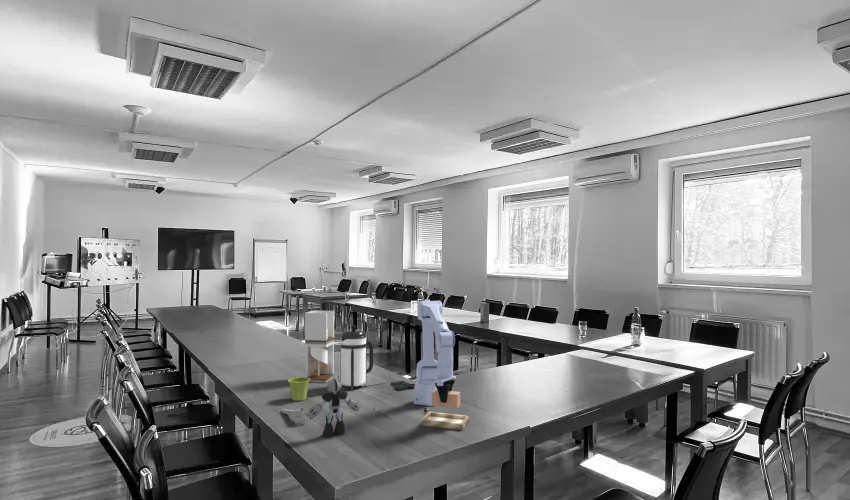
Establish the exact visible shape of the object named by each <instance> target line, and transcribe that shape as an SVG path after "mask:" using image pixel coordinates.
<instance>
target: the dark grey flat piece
mask: <svg viewBox="0 0 850 500" xmlns="http://www.w3.org/2000/svg"><path fill="white" fill-rule="evenodd" d="M390 386H392V387H394V390H396V391H399V392H401V391H402V392H403V391H407V390H408V391H409V389H414V386H415V383H410V382H406V381H405V380H397V381H391V382H390Z"/></svg>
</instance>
